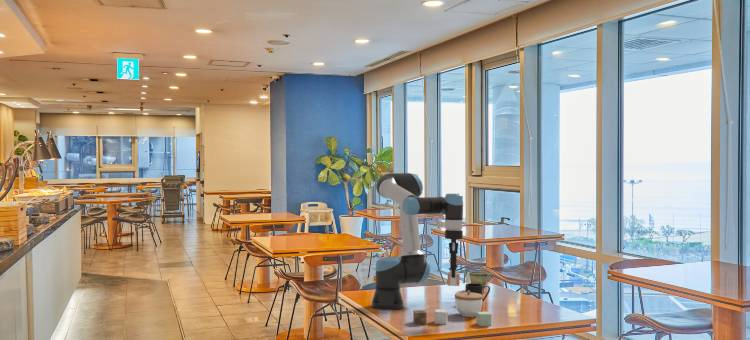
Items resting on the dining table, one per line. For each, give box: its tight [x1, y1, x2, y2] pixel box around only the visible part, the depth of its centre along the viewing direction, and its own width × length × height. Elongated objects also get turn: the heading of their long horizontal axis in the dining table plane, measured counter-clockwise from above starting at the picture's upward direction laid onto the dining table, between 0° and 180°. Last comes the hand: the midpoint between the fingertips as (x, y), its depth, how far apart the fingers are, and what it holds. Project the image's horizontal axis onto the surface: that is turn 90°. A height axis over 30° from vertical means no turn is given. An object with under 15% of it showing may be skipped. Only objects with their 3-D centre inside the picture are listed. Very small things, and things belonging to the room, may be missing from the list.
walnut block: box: [412, 309, 427, 326], centre depth 272 cm, size 5×5×5 cm
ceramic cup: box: [468, 270, 494, 292], centre depth 347 cm, size 13×10×10 cm
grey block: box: [434, 308, 449, 325], centre depth 274 cm, size 5×5×5 cm
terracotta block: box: [447, 271, 461, 287], centre depth 273 cm, size 5×5×5 cm
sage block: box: [475, 311, 492, 327], centre depth 271 cm, size 5×5×5 cm
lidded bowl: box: [454, 290, 484, 318], centre depth 288 cm, size 13×13×11 cm
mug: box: [465, 283, 491, 304], centre depth 312 cm, size 8×12×10 cm
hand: (453, 283), depth 273 cm, fingers closed on terracotta block, 5 cm apart
